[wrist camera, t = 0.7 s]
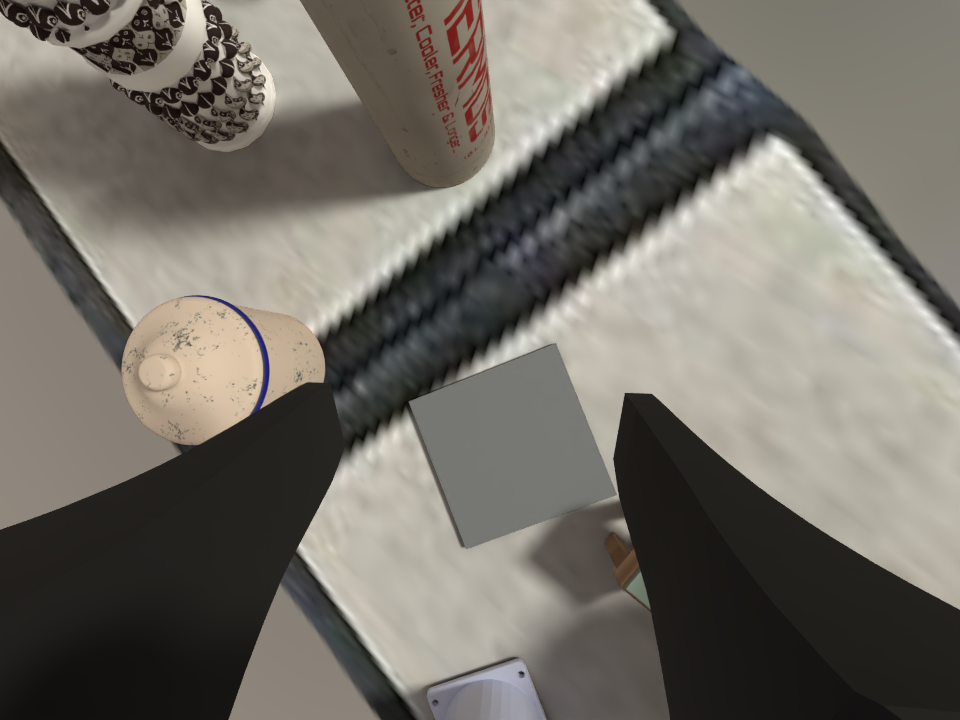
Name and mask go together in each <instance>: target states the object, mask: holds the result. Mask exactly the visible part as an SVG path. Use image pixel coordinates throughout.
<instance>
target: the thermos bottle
mask: <svg viewBox="0 0 960 720" xmlns="http://www.w3.org/2000/svg"><path fill="white" fill-rule="evenodd" d="M300 1H301V3H302V4H303V6H304V8H305V9H306V11H307V13H308V14H309V16H310V18H311V19H312V21H313V22H314V24H315V26H316V27H317V29H318V31H319V32H320V34H321V36H322V37H323V39H324V41H325V42H326V44H327V45H328V47H329V49H330V50H331V52H332V54H333V55H334V57H335V59H336V60H337V62H338V64H339V65H340V67H341V68H342V70H343V72H344V73H345V75H346V77H347V78H348V80H349V82H350V83H351V85H352V87H353V88H354V90H355V91H356V93H357V95H358V96H359V98H360V100H361V101H362V103H363V105H364V106H365V108H366V110H367V111H368V113H369V114H370V116H371V118H372V119H373V121H374V123H375V124H376V126H377V128H378V129H379V131H380V133H381V134H382V136H383V137H384V139H385V141H386V142H387V144H388V146H389V147H390V149H391V151H392V152H393V154H394V156H395V157H396V159H397V160H398V162H399V164H400V165H401V167H402V168H403V169H404V170H405V171H406V173H407V174H408V175H410V176H411V177H412V178H414V179H415V180H417V181H419V182H421V183H423V184H425V185H429V186H433V187H449V186H455V185H457V184H460V183H463V182H465V181H467V180H468V179H470V178H472V177H473V176H474V175H475V174H476V173H477V172H479V171H480V170H481V168H482V167H483V166H484V165H485V163H486V162H487V160H488V158H489V156H490V154H491V152H492V148H493V145H494V138H495V127H494V117H493V107H492V97H491V88H490V78H489V68H488V59H487V49H486V39H485V29H484V20H483V10H482V0H300Z"/></svg>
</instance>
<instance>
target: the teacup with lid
mask: <svg viewBox="0 0 960 720" xmlns="http://www.w3.org/2000/svg"><path fill="white" fill-rule="evenodd" d="M324 376H325V360H324V355H323V351H322V348H321V346H320V344H319V342H318V340H317V338H316V337H315V335H314V334H313V333H312V331H311V330H310V329H309V328H308V327H307V326H305V325H304V324H303V323H301V322H300V321H298V320H296V319H294V318H292V317H290V316H287V315H283V314H278V313H272V312H267V311H262V310H257V309H251V308H246V307H241V306H236V305H232V304H230V303H228V302H226V301H224V300H221V299H218V298H214V297H209V296H201V295H196V296H185V297H181V298H177V299H174V300H171V301H168V302H166V303H163V304H161V305H160V306H158V307H156V308H155V309H153V310H152V311H151V312H149V313H148V314H147V315H146V316H145V317H143V319H142V320H141V321H140V322H139V323H138V324H137V326H136V327H135V328H134V330H133V331H132V333H131V335H130V337H129V339H128V341H127V344H126V347H125V350H124V354H123V359H122V382H123V388H124V391H125V395H126V398H127V400H128V402H129V404H130V407H131V408H132V410H133V411H134V413H135V415H136V416H137V417H138V419H139V420H140V421H141V422H142V423H143V424H144V425H145V426H146V427H147V428H149V429H150V430H151V431H152V432H154V433H155V434H157V435H159V436H161V437H162V438H164V439H167V440H169V441H172V442H175V443H179V444H184V445H190V446H198V445H199V444H201V443H203V442H205V441H206V440H208V439H210V438H212V437H214V436H215V435H217V434H219V433H221V432H222V431H224V430H226V429H228V428H230V427H231V426H233V425H235V424H236V423H238V422H240V421H241V420H243V419H245V418H246V417H248V416H250V415H251V414H253V413H255V412H256V411H258V410H260V409H261V408H263V407H264V406H266V405H268V404H269V403H271V402H273V401H274V400H276V399H278V398H279V397H281V396H283V395H284V394H286V393H288V392H289V391H291V390H293V389H295V388H297V387H298V386H300V385H302V384H304V383H306V382H318V383H323V381H324Z"/></svg>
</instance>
